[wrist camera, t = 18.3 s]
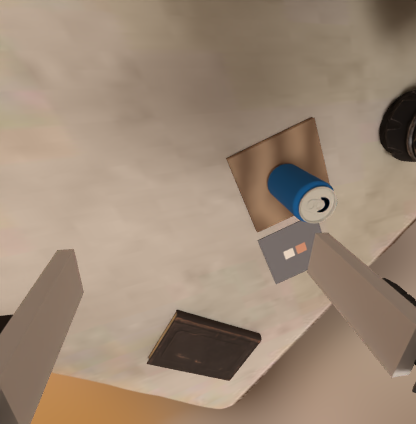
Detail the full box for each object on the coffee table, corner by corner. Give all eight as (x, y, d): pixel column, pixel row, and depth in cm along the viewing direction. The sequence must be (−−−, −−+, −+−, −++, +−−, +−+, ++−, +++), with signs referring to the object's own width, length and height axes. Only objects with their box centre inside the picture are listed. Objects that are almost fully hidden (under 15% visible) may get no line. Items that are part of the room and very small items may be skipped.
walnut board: (311, 117, 44) (314, 117, 43) (329, 195, 51) (332, 197, 50) (226, 158, 45) (227, 159, 44) (255, 230, 52) (257, 232, 51)
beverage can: (295, 197, 49) (333, 226, 38) (263, 196, 48) (292, 226, 37) (303, 163, 46) (345, 184, 35) (269, 161, 45) (302, 183, 34)
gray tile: (316, 213, 52) (316, 213, 52) (328, 259, 58) (329, 260, 58) (257, 240, 53) (257, 240, 53) (275, 284, 58) (276, 284, 58)
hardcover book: (227, 372, 70) (229, 381, 68) (147, 355, 62) (146, 364, 60) (259, 331, 65) (262, 339, 63) (176, 307, 58) (177, 315, 55)
